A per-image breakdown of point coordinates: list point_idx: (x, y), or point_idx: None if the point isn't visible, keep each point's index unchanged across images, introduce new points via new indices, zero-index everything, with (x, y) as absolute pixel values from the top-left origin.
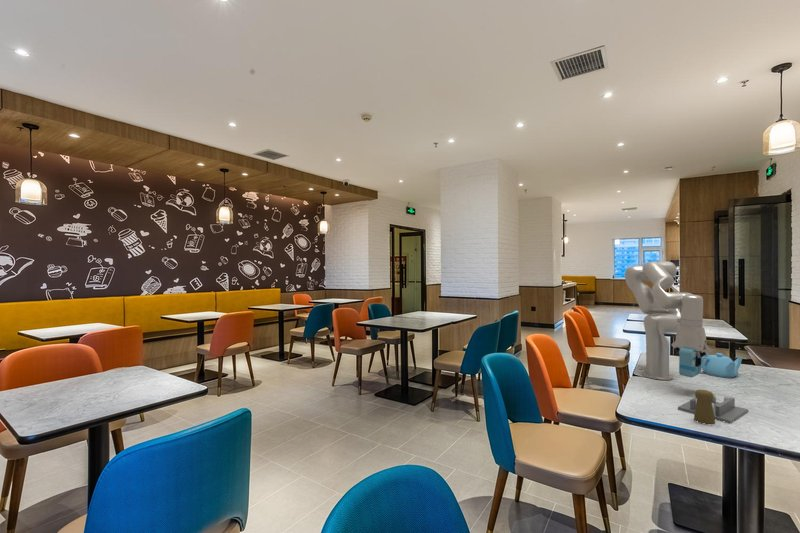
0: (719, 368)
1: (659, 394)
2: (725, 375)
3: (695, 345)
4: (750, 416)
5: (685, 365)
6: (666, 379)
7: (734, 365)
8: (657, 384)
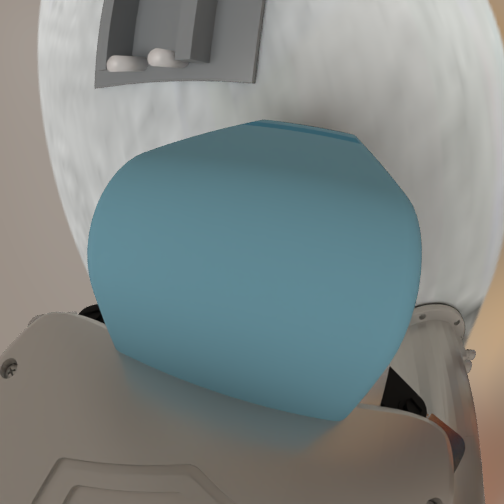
0: None
1: (410, 56)
2: None
3: (54, 406)
4: (92, 48)
5: (298, 131)
6: None
7: None
8: (435, 236)
